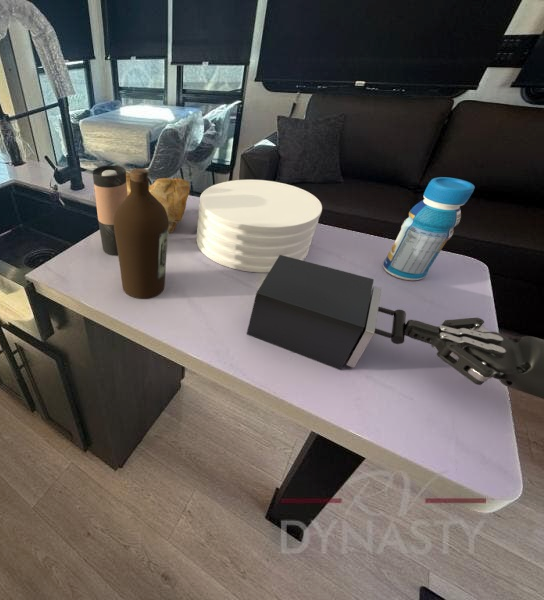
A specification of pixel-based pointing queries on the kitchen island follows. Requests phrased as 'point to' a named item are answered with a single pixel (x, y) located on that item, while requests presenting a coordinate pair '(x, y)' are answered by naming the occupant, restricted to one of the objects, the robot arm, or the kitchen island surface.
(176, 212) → the crumpled paper bag
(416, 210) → the beverage bottle
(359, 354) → the drawer
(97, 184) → the travel mug
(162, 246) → the olive oil
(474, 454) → the kitchen island surface
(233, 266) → the plate stack
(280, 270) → the cabinet
